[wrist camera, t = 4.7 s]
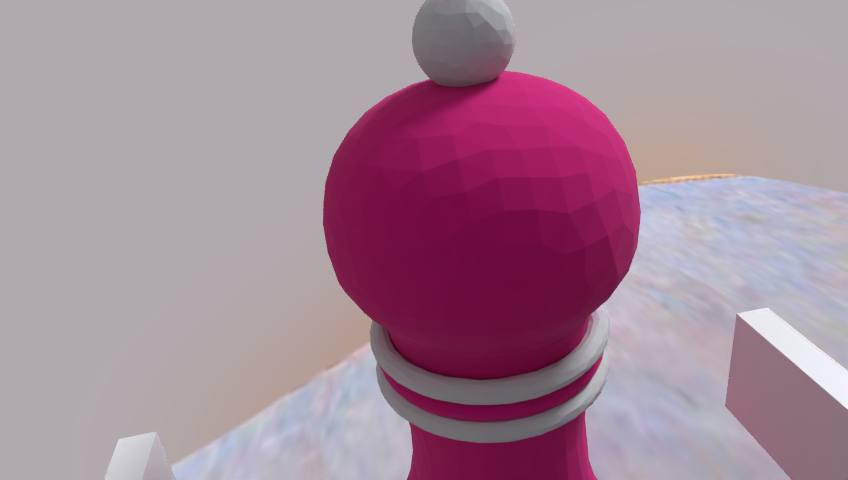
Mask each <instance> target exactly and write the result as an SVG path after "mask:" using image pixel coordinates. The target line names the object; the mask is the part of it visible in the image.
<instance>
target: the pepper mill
mask: <svg viewBox="0 0 848 480" xmlns="http://www.w3.org/2000/svg"><path fill="white" fill-rule="evenodd" d="M412 45H413V51H414V54H415V57H416V59H417V61H418V63H419V65H420V67H421V68H422V70H423V71H424V72H425V74H426V75H427V76H428V77H429V78H430V79H429V80H425V81H423V82H419V83H415V84H412V85H410V86H408V87H406V88H404V89H402V90H400V91H398V92H396V93H394V94H392V95H390V96H387V97H386V98H384V99H383V100H382V101H380V102H379V103H378V104H376V105H375V106H374V107H372V108H371V109H369V110H368V111H367V112H365V114H364V115H363V116H362V117H361V118H360V119H359V120H358V122H357V123H356V124H355V125H354V126H353V127H352V128H351V129H350V130H349V132H348V133H347V135H346V137H345V138H344V140H343V142H342V143H341V145H340V147H339V148H338V150H337V151H336V153H335V155H334V157H333V160H332V164H331V167H330V170H329V173H328V176H327V180H326V184H325V195H324V208H323V226H324V232H325V238H326V244H327V249H328V254H329V257H330V259H331V262H332V265H333V268H334V271H335V273H336V276H337V279H338V282H339V284H340V285H341V287H342V288H343V290H344V291H345V292H346V293H347V295H348V296H349V297H350V298H351V299H352V300H353V301H354V302H355V303H356V304H357V305H358V306H359V307H360V309H361V310H362V311H363V312H364V313H365V314H367V315H368V316H369V317H370V318H371V319H372V320H373V321H372V325H371V330H370V338H371V339H370V341H371V348H372V351H373V353H374V356H375V358H376V361H377V367H376V372H377V379H378V384H379V387H380V389H381V392H382V394H383V396H384V397H385V399H386V401H387V402H388V403H389V405H390V406H391V407H392V408H393V409H394V411H396V412H397V413H398V414H399V415H400V416H401V417H403V418H404V419H406V420H407V421H409V424H410V427H411V434H412V445H413V455H412V463H411V469H410V472H409V475H408V478H407V480H597V478H596V477H595V475H594V473H593V471H592V468H591V465H590V462H589V457H588V446H587V436H586V425H585V410H586V409H587V408H588V407H589V406H590V405H592V404H593V402H594V401H595V400H596V398H597V397H598V396H599V394H600V393H601V391H602V389H603V386H604V384H605V382H606V380H607V376H608V372H609V353H608V349H607V346H606V345H607V342H608V338H609V334H610V320H609V315H608V313H607V310H606V307H605V305H604V302H605V301H607V300H608V299H609V297H610V296H611V295H612V293H613V292H614V290H615V289H616V288H617V286H618V285H619V284H620V282H621V281H622V279H623V278H624V277H625V275H626V274H627V272H628V271H629V268H630V265H631V262H632V259H633V257H634V254H635V251H636V248H637V243H638V234H639V226H640V214H641V211H640V203H639V195H638V187H637V178H636V171H635V168H634V166H633V163H632V160H631V158H630V155H629V153H628V150H627V147H626V145H625V142H624V141H623V139H622V138H621V136H620V135H619V133H618V132H617V131H616V129H615V128H614V126H613V125H612V124H611V122H610V121H609V119H608V118H607V117H606V115H605V114H604V113H603V112H601V111H600V110H599V109H598V108H597V107H596V106H595V105H593V104H592V103H591V102H590V101H589V100H587V99H586V98H585V97H583V96H581V95H580V94H578V93H576V92H574V91H573V90H571V89H569V88H567V87H565V86H563V85H561V84H558V83H556V82H553V81H551V80H548V79H545V78H541V77H537V76H533V75H529V74H524V73H519V72H510V71H504V70H505V68H506V67H507V65H508V63H509V61H510V58H511V56H512V53H513V51H514V46H515V26H514V21H513V18H512V15H511V13H510V10H509V8H508V7H507V6H506V5H505V3H504V2H503V0H426V1H425V3H424V4H423V5H422V7H421V8H420V10H419V12H418V14H417V16H416V19H415V22H414V26H413V34H412Z"/></svg>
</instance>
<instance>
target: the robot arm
mask: <svg viewBox="0 0 848 480" xmlns="http://www.w3.org/2000/svg"><path fill="white" fill-rule="evenodd" d="M725 406H726V407H727V408H728V410H729V411H730V412H731V413H732V414H733V415H734V416H735V417H736V418H737V420H738V421H739V422H740V423H741V424H742V425H743V426H744V427H745V428H746V429H747V431H748V432H749V433H750V434H751V435H752V436H753V437H754V438H755V439H756V441H757V442H758V443H759V444H760V445H761V446H762V447H763V448H764V449H765V450H766V452H767V453H768V454H769V455H770V456H771V457H772V458H773V459H774V460H775V461H776V463H777V464H778V465H779V466H780V467H781V468H782V469H783V470H784V471H785V473H786V474H787V475H788V476H789V477H790V478H791V479H792V480H848V371H847V370H846V369H844V368H843V367H842V366H841V365H839V364H838V363H837V362H835V361H834V360H833V359H832V358H830V357H829V356H828V355H827V354H825V353H824V352H823V351H822V350H820V349H819V348H818V347H817V346H815V345H814V344H813V343H811V342H810V341H809V340H808V339H806V338H805V337H804V336H803V335H801V334H800V333H799V332H798V331H796V330H795V329H794V328H793V327H791V326H790V325H789V324H787V323H786V322H785V321H784V320H782V319H781V318H780V317H779V316H777V315H776V314H775V313H774V312H772V311H771V310H770V309H769V308H762V309H758V310H753V311H748V312H743V313H738V314H737V315H736V323H735V331H734V340H733V348H732V356H731V364H730V372H729V380H728V388H727V396H726V404H725ZM104 480H176V479H175V477H174V474H173V472H172V469H171V467H170V464H169V462H168V459H167V457H166V454H165V452H164V449H163V447H162V444H161V442H160V439H159V437H158V434H157V432H152V433H147V434H142V435H137V436H132V437H127V438H122V439H119V440H118V443H117V446H116V449H115V451H114V454H113V457H112V459H111V462H110V465H109V468H108V470H107V473H106V476H105V478H104Z"/></svg>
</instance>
